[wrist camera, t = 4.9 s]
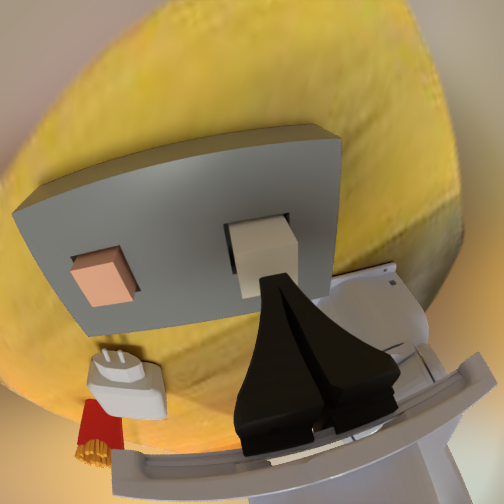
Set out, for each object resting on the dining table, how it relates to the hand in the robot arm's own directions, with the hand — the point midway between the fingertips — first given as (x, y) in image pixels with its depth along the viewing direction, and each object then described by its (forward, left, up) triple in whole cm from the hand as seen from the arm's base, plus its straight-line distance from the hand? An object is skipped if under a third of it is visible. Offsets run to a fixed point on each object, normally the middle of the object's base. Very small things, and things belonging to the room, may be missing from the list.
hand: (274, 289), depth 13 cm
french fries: (+29, +30, -8) cm, 42 cm away
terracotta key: (+10, 0, -6) cm, 12 cm away
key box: (+5, 0, -8) cm, 9 cm away
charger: (+17, +18, -8) cm, 26 cm away
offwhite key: (0, 0, -4) cm, 4 cm away
